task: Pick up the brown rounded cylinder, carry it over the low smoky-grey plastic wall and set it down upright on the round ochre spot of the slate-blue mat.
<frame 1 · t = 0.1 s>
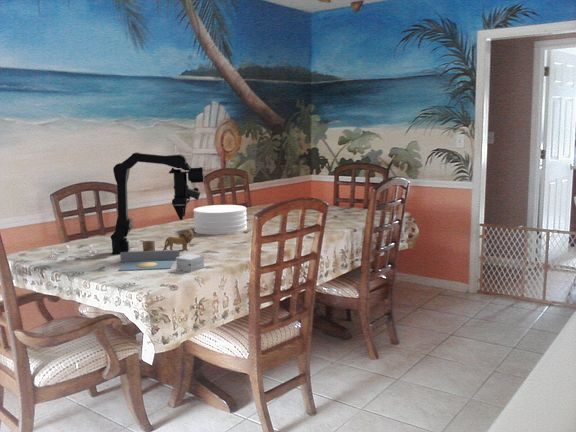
hand: (182, 218, 248), 15 cm above the table, fingers open, 9 cm apart
lion figurine: (179, 250, 250), on the table
game piece set: (73, 256, 246), on the table
brown rounded cylinder: (149, 255, 242), on the table
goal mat: (146, 266, 223), on the table
low wall: (150, 260, 232), on the table
small box: (190, 269, 218), on the table
plate stack: (221, 230, 298), on the table
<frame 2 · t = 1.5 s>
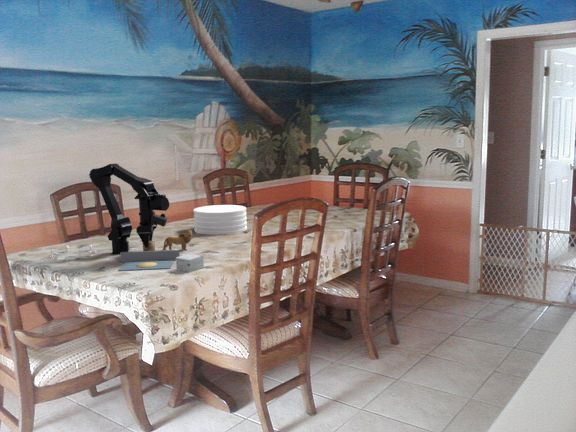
hand: (148, 245, 241), 4 cm above the table, fingers open, 9 cm apart
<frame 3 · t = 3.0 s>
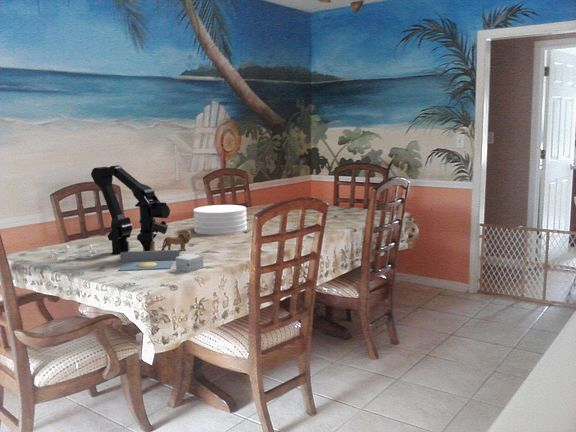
hand: (149, 252, 241), 1 cm above the table, fingers closed on brown rounded cylinder, 5 cm apart
brown rounded cylinder: (149, 255, 242), on the table, touching gripper
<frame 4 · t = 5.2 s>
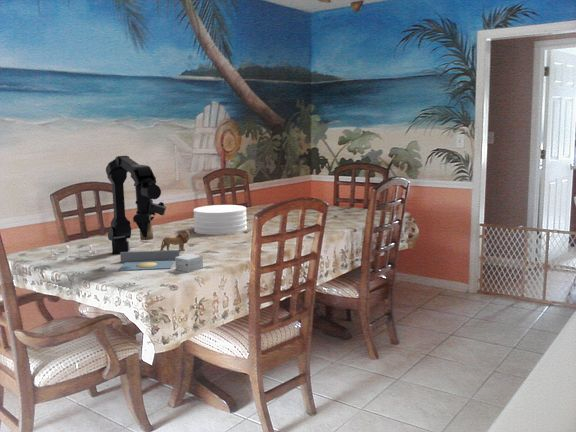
hand: (146, 236, 225), 12 cm above the table, fingers closed on brown rounded cylinder, 5 cm apart
brown rounded cylinder: (146, 239, 225), point 10 cm above the table, touching gripper
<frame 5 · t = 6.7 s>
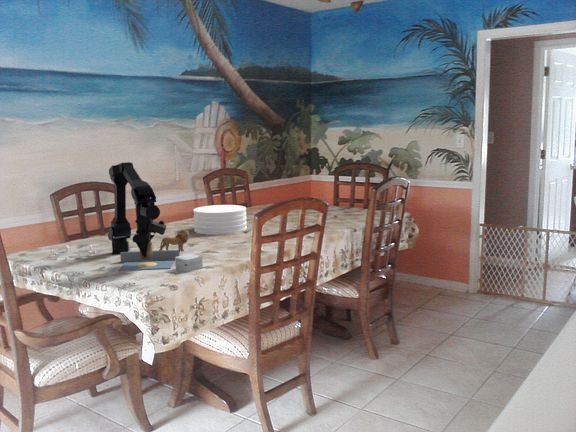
hand: (146, 255, 222), 5 cm above the table, fingers closed on brown rounded cylinder, 5 cm apart
brown rounded cylinder: (146, 257, 223), point 3 cm above the table, touching gripper
when the fingers open (3 cm above the table, at t = 7.9 s): brown rounded cylinder stays where it is, resting on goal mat.
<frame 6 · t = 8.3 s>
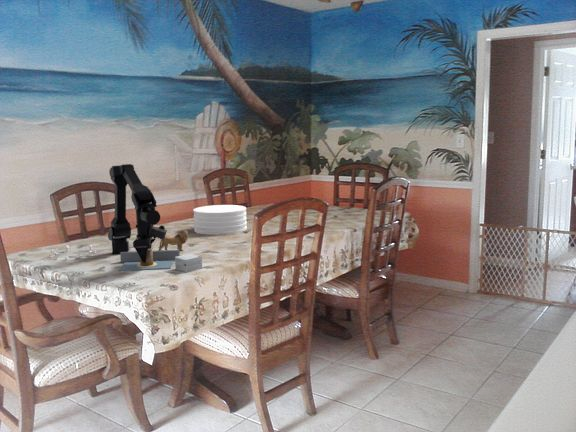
hand: (146, 259, 223), 3 cm above the table, fingers open, 9 cm apart
brown rounded cylinder: (147, 264, 223), point 1 cm above the table, touching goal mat
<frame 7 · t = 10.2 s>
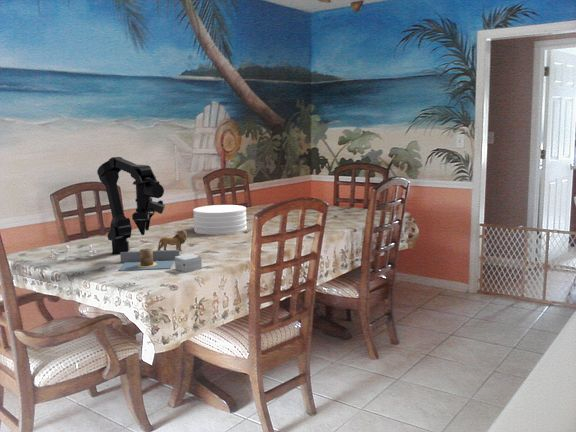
hand: (145, 232, 234), 11 cm above the table, fingers open, 9 cm apart
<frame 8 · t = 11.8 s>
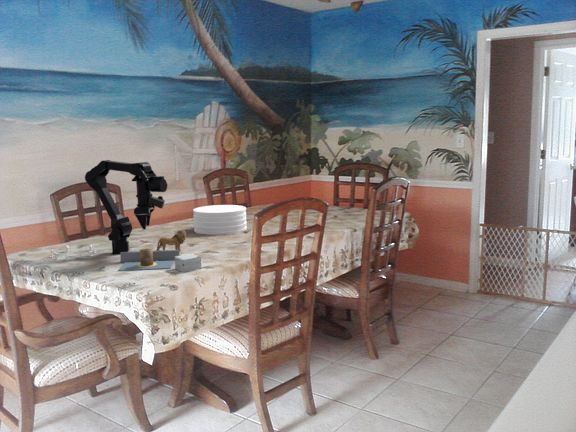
hand: (146, 227, 241), 12 cm above the table, fingers open, 9 cm apart
at the end: brown rounded cylinder 0.1 cm off-centre on the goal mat, point 0.6 cm above the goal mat's base; brown rounded cylinder tilted 0°; the gripper is holding nothing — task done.
